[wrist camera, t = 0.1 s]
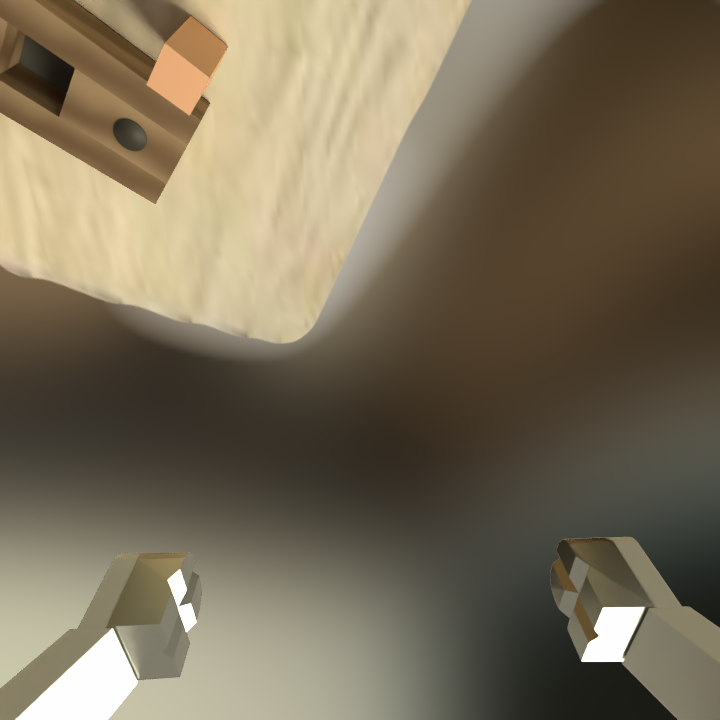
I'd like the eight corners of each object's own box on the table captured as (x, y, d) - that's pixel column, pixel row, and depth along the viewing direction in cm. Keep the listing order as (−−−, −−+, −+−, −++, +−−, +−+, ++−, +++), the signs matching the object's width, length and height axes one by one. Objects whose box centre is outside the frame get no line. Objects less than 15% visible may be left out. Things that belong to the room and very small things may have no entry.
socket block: (1, -54, 40) (-31, -46, 37) (210, 103, 50) (200, 121, 46) (-23, 66, 47) (-52, 83, 43) (166, 183, 57) (154, 205, 53)
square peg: (191, 15, 44) (164, 42, 38) (228, 46, 46) (209, 77, 40) (174, 52, 46) (146, 84, 40) (210, 80, 48) (189, 115, 42)
